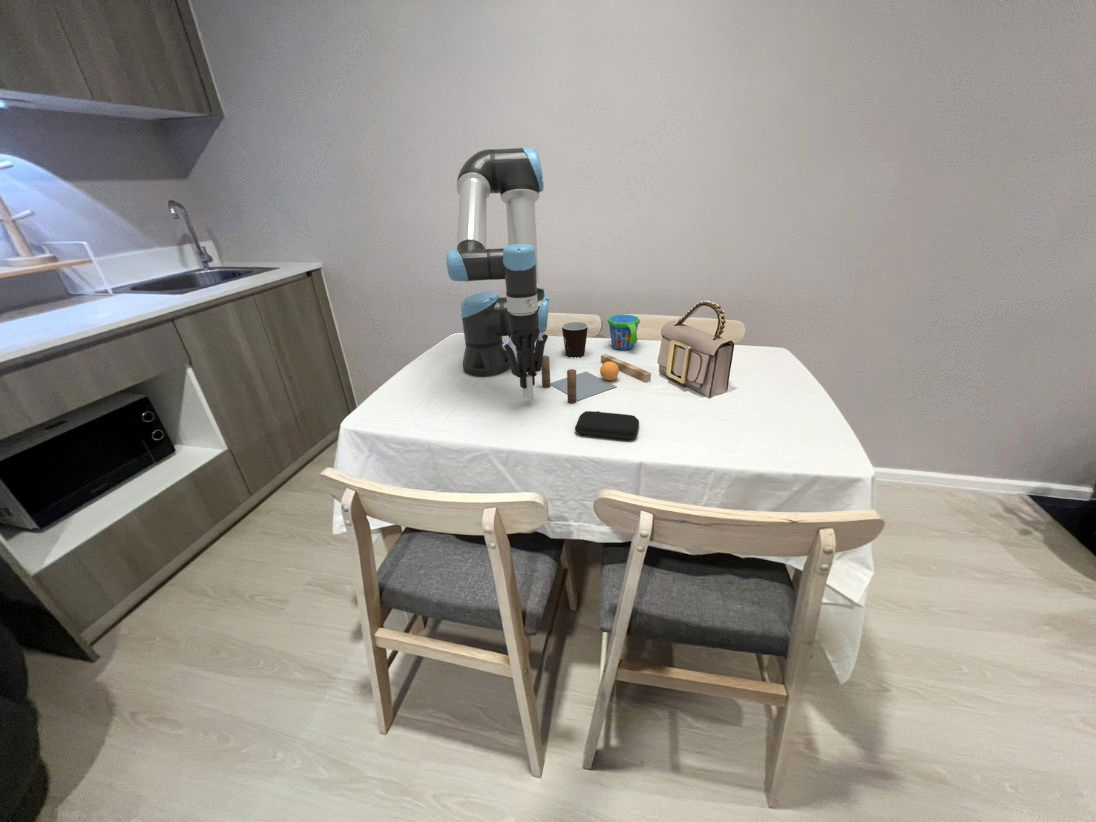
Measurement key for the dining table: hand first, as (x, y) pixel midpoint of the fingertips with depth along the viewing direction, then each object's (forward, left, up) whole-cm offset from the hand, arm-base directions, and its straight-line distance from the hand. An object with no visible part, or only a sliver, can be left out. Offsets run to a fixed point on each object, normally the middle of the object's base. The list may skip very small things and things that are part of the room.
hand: (528, 397), depth 124 cm
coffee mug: (-22, +33, -2) cm, 40 cm away
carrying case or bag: (+23, +8, -3) cm, 24 cm away
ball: (+2, +27, +1) cm, 27 cm away
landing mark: (0, +18, -2) cm, 19 cm away
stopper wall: (0, +35, -2) cm, 35 cm away
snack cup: (-16, +49, -2) cm, 52 cm away
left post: (-6, +10, -2) cm, 12 cm away
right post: (+6, +10, -2) cm, 12 cm away
